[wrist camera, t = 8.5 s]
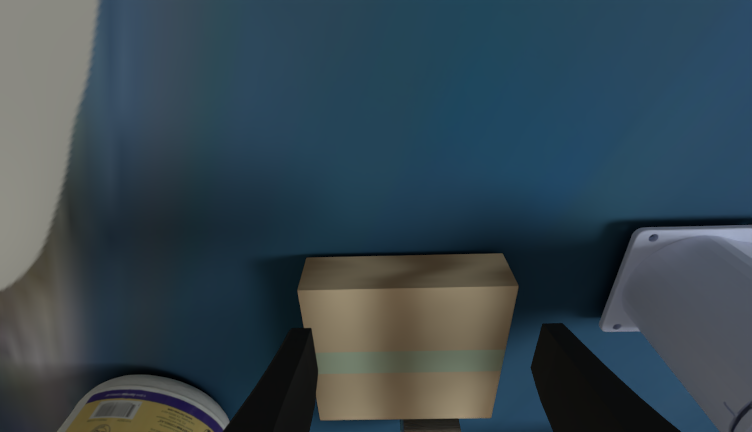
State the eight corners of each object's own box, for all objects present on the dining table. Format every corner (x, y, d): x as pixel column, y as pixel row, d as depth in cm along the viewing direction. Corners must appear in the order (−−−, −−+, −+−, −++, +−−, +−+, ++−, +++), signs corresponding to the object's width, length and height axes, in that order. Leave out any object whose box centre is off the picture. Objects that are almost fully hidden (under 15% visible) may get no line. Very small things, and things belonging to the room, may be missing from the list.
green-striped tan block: (502, 253, 23) (518, 286, 20) (480, 380, 29) (491, 418, 26) (306, 257, 23) (297, 290, 20) (325, 382, 29) (320, 420, 26)
